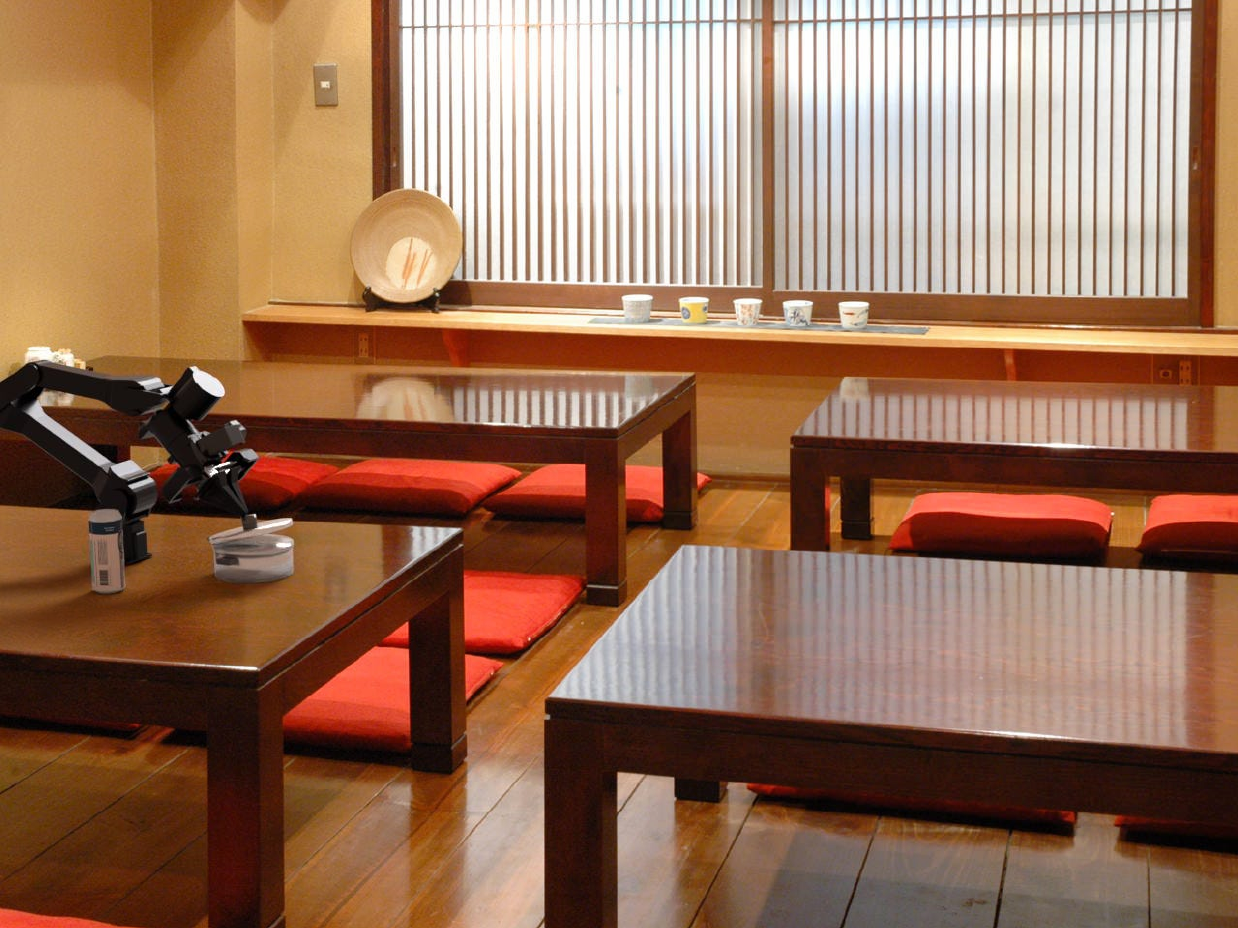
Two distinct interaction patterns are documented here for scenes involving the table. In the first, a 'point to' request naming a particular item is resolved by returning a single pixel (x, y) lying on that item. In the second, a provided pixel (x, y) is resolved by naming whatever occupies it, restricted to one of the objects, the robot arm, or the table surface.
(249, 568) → the cooker pot
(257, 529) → the cooker lid
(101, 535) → the beer can
